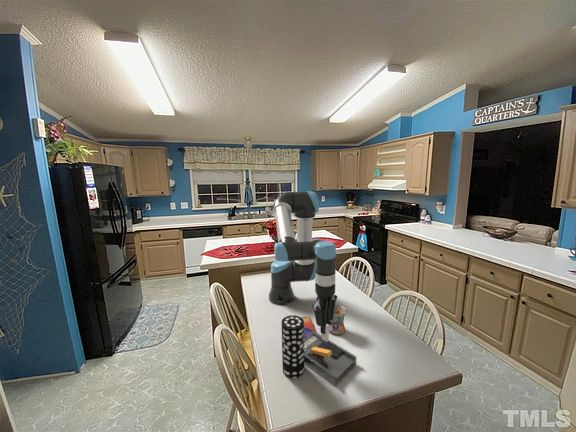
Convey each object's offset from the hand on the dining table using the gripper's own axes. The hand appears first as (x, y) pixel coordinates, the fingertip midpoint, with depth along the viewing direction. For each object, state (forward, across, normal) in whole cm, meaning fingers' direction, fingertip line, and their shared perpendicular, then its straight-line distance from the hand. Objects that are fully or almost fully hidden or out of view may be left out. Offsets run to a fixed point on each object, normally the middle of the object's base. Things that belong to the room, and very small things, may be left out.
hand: (324, 339), depth 95 cm
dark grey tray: (+9, 0, +1) cm, 9 cm away
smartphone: (+10, +10, +19) cm, 24 cm away
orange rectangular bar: (+5, -2, 0) cm, 6 cm away
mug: (+10, +20, +9) cm, 24 cm away
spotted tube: (+10, -12, +6) cm, 16 cm away
